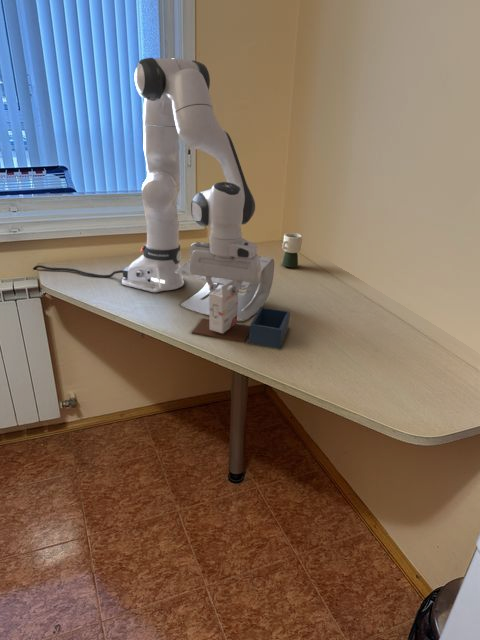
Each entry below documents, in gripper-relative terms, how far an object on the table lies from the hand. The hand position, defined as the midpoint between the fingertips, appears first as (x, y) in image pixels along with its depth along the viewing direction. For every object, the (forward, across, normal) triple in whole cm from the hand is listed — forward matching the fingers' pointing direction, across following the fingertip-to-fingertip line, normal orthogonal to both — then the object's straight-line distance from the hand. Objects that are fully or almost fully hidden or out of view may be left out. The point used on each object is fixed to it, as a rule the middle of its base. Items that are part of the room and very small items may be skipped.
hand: (224, 292), depth 140 cm
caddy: (+12, +14, +1) cm, 19 cm away
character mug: (+13, +9, +64) cm, 66 cm away
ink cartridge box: (+11, 0, 0) cm, 11 cm away
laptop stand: (+13, -5, +19) cm, 24 cm away
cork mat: (+12, 0, 0) cm, 12 cm away
